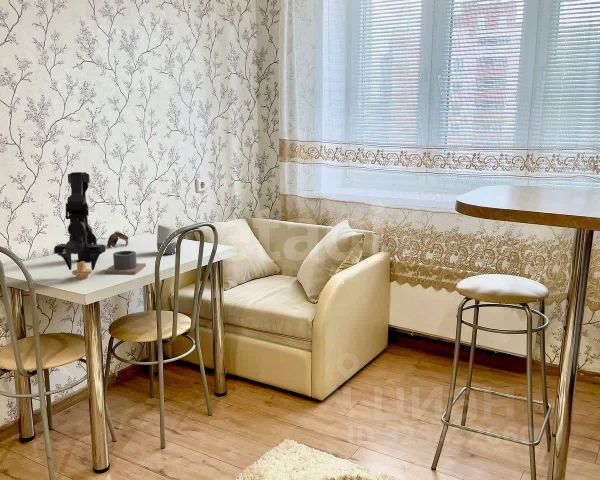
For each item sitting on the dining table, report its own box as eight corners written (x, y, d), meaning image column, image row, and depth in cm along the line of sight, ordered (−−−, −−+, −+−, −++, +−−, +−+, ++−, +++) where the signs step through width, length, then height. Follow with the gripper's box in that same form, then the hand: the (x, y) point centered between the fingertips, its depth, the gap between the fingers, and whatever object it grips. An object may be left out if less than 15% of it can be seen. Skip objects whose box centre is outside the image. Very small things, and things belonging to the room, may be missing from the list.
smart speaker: (180, 254, 276) (178, 224, 273) (160, 256, 272) (158, 226, 268) (174, 250, 284) (173, 221, 281) (155, 252, 280) (153, 223, 277)
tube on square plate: (104, 273, 243) (103, 256, 242) (116, 265, 256) (115, 249, 254) (135, 274, 242) (134, 257, 241) (145, 266, 255) (145, 249, 253)
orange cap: (69, 280, 234) (68, 264, 233) (77, 275, 241) (76, 260, 240) (87, 280, 234) (85, 265, 232) (94, 275, 241) (93, 260, 239)
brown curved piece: (108, 245, 297) (116, 230, 297) (125, 253, 297) (133, 239, 297) (100, 244, 285) (108, 228, 285) (118, 253, 285) (126, 237, 285)
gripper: (45, 235, 226) (49, 275, 230) (93, 236, 225) (96, 276, 228) (59, 229, 237) (62, 267, 240) (104, 230, 236) (107, 268, 239)
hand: (81, 269), depth 237 cm, fingers open, 9 cm apart
